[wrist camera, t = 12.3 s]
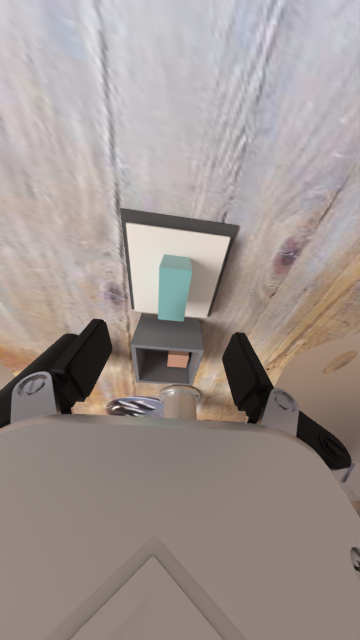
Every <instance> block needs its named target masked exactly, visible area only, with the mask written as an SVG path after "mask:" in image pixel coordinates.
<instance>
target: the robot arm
mask: <svg viewBox="0 0 360 640" xmlns="http://www.w3.org/2000/svg"><path fill="white" fill-rule="evenodd" d="M111 352H112V344H111V340H110V336H109V332H108V328H107V324H106V322H104V320H102V319H93V320H92V321H91V322H90V323H89V324H88V325H87V327H86V328H85V329H84V330H83V331H82V333H81V334H80V335H79V336H78V337H77V338H76V339H75V340H74V341H73V342H72V344H71V345H70V346H69V347H68V348H67V350H66V351H65V352H64V353H63V354H62V355H61V357H60V358H59V359H58V360H57V361H56V363H55V364H54V365H53V366H52V367H51V369H50V370H49V371H48V372H37V373H33V374H31V375H29V376H27V377H25V378H24V379H22V380H21V381H20V382H19V383H18V384H16V386H15V387H14V389H13V392H12V393H10V394H8V395H6V396H4V397H2V398H0V640H360V465H359V464H358V463H357V462H355V463H353V462H352V461H351V457H350V455H349V453H348V451H347V449H346V448H345V446H344V445H343V444H342V443H341V442H340V441H339V440H338V439H337V438H336V437H335V436H334V435H332V434H331V433H330V432H328V431H327V430H326V429H324V428H323V427H321V426H320V425H319V424H317V423H316V422H315V421H313V420H312V419H310V418H309V417H308V416H306V415H305V414H304V413H302V412H301V411H299V406H298V404H297V402H296V400H295V399H294V398H293V397H292V396H291V395H290V394H289V393H288V392H286V391H285V390H283V389H280V388H274V387H273V385H272V383H271V381H270V379H269V377H268V375H267V374H266V372H265V370H264V368H263V366H262V364H261V362H260V360H259V359H258V357H257V355H256V353H255V351H254V350H253V348H252V346H251V344H250V342H249V340H248V338H247V336H246V335H245V333H239V332H236V333H235V334H233V335H232V337H231V339H230V342H229V344H228V346H227V348H226V350H225V352H224V354H223V357H222V361H223V365H224V368H225V372H226V376H227V379H228V383H229V386H230V390H231V393H232V397H233V401H234V404H235V405H236V406H237V407H238V411H245V412H246V415H247V418H246V421H245V423H239V422H226V421H208V420H197V413H196V403H198V402H199V401H200V393H199V391H197V390H196V389H194V388H192V387H188V386H171V387H167V388H165V389H163V390H162V391H160V393H159V400H160V401H161V402H162V403H163V413H162V418H153V417H133V416H112V415H87V414H74V409H73V406H74V404H75V403H76V401H77V402H84V401H85V399H86V397H88V396H89V395H90V394H91V392H92V390H93V388H94V386H95V384H96V382H97V380H98V378H99V376H100V374H101V372H102V370H103V368H104V366H105V364H106V362H107V360H108V358H109V356H110V354H111Z"/></svg>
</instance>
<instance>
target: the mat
mask: <svg viewBox="0 0 360 640" xmlns="http://www.w3.org/2000/svg"><path fill="white" fill-rule="evenodd" d="M120 211H121V220H122V228H123V237H124V246H125V254H126V263H127V272H128V280H129V289H130V297H131V306H132V309H134V299H133V289H132V279H131V269H130V259H129V249H128V240H127V230H126V223H128V222H129V223H136V224H143V225H151V226H158V227H165V228H172V229H179V230H186V231H193V232H201V233H208V234H215V235H222V236H229V237H230V241H229V244H228V248H227V251H226V254H225V258H224V261H223V264H222V268H221V271H220V274H219V278H218V281H217V285H216V288H215V291H214V295H213V298H212V301H211V305H210V308H209V311H208V315H207V316H208V317H209V316H210V313H211V310H212V307H213V303H214V300H215V297H216V294H217V291H218V287H219V284H220V281H221V278H222V275H223V271H224V268H225V265H226V262H227V259H228V255H229V252H230V249H231V246H232V243H233V239H234V236H235V233H236V230H237V227H238V226H237V225H231V224H224V223H218V222H211V221H204V220H197V219H190V218H183V217H177V216H170V215H163V214H156V213H149V212H142V211H136V210H129V209H122V208H120Z"/></svg>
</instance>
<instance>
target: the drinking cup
mask: <svg viewBox="0 0 360 640" xmlns="http://www.w3.org/2000/svg"><path fill="white" fill-rule="evenodd" d="M77 337H78V336H77V335H74V334H65V335H63V336H62V337H61V338H59V339H58V340H57V341H56V342H55V343H54V344H53V345H51V346H50V347H49V348H48V349H47V350H46V351H45V352H44V353H42V354H41V355H40V356H39V357H38V358H37V359H36V360H34V361H33V362H32V363H31V364H30V365H29V366H28V367H26V368H25V369H24V370H23V371H22V372H21V373H20V374H18V375H17V376H16V377H15V378H14V379H13V380H12V381H11V382H9V383H8V384H7V385H6V386H5V387H4V388H3V389H1V390H0V398H2V397H4V396H6V395H8V394H10V393H12V392H13V389H14V387H15V386H16V384H18V383H19V382H20V381H21V380H22V379H24V378H25V377H27V376H29V375H31V374H33V373H37V372H48V371H49V370H50V369H51V367H52V366H53V365H54V364H55V363H56V361H57V360H58V359H59V358H60V357H61V355H62V354H63V353H64V352H65V351H66V350H67V348H68V347H69V346H70V345H71V344H72V342H73V341H74V340H75V339H76V338H77Z"/></svg>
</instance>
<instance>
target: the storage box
mask: <svg viewBox="0 0 360 640" xmlns="http://www.w3.org/2000/svg"><path fill="white" fill-rule="evenodd" d="M130 345H131V352H132V358H133V365H134V371H135V378H136V382H142V383H157V384H173V385H188V386H192V384H193V382H194V379H195V376H196V373H197V370H198V367H199V364H200V362H201V359H202V356H203V353H204V345H203V338H202V332H201V326H200V320H199V319H195V318H185V317H184V322H182V321H172V320H161V319H158V315H154V314H144V313H142V314H141V317H140V320H139V322H138V325H137V328H136V331H135V333H134V336H133V339H132V341H131V344H130Z"/></svg>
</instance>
